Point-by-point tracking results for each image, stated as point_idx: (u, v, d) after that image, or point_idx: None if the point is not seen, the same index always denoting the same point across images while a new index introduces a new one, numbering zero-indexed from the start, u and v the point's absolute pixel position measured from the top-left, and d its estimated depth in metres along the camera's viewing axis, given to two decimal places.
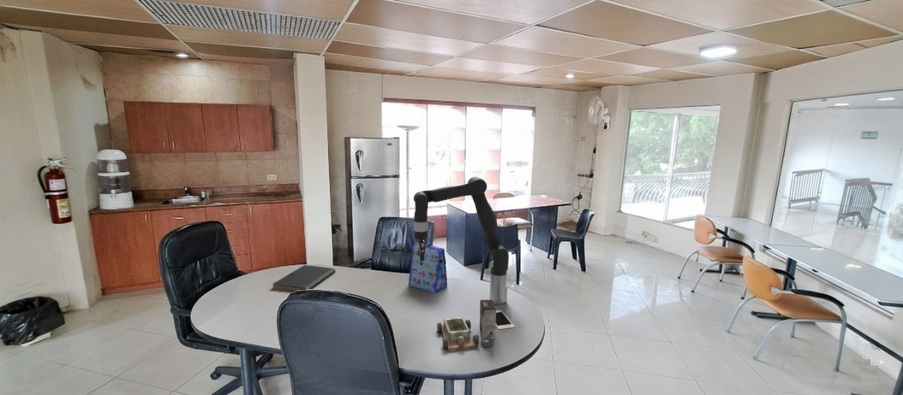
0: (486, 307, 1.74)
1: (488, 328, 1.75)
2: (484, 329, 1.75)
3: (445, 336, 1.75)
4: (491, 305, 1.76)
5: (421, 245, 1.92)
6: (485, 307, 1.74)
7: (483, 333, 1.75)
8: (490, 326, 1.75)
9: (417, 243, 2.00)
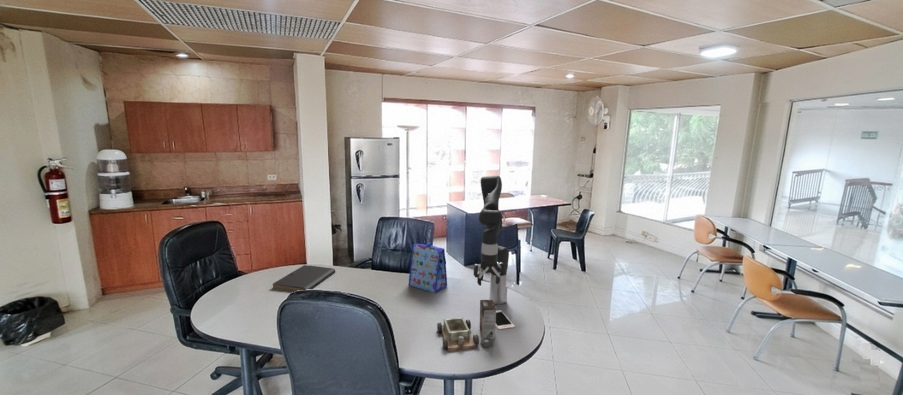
0: (486, 307, 1.74)
1: (488, 328, 1.75)
2: (484, 329, 1.75)
3: (445, 336, 1.75)
4: (491, 305, 1.76)
5: None
6: (485, 307, 1.74)
7: (483, 333, 1.75)
8: (490, 326, 1.75)
9: (487, 269, 1.72)
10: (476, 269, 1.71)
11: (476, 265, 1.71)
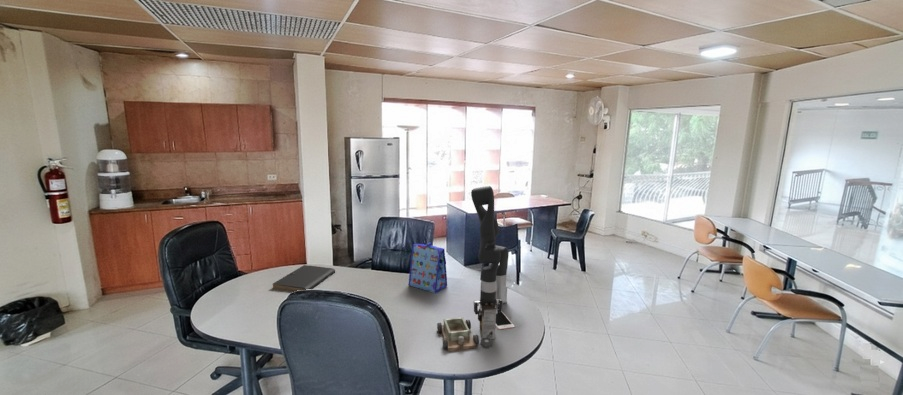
0: (486, 307, 1.74)
1: (488, 328, 1.75)
2: (484, 329, 1.75)
3: (445, 336, 1.75)
4: None
5: None
6: (485, 307, 1.74)
7: (483, 333, 1.75)
8: (490, 326, 1.75)
9: None
10: (476, 306, 1.75)
11: (475, 303, 1.74)
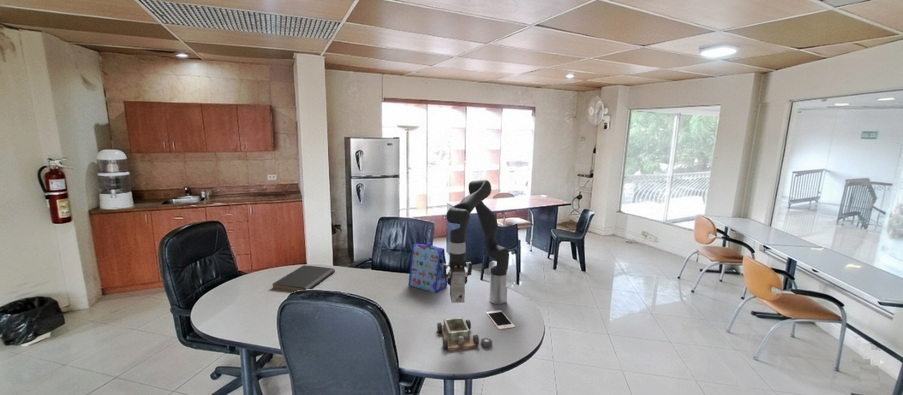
0: (455, 269, 1.69)
1: (458, 291, 1.70)
2: (453, 292, 1.70)
3: (445, 336, 1.75)
4: (461, 268, 1.71)
5: None
6: (454, 269, 1.69)
7: (452, 296, 1.70)
8: (459, 288, 1.70)
9: None
10: (444, 269, 1.70)
11: (444, 265, 1.70)
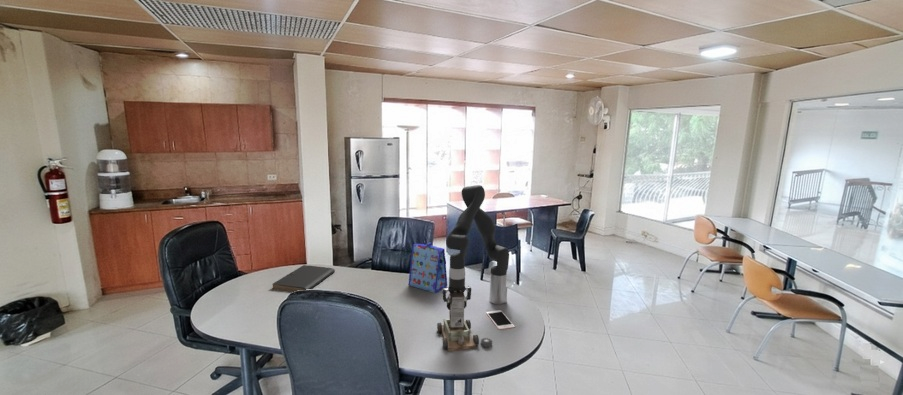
0: (454, 294, 1.71)
1: (457, 316, 1.72)
2: (452, 317, 1.72)
3: (445, 336, 1.75)
4: (460, 293, 1.73)
5: None
6: (454, 294, 1.71)
7: (452, 321, 1.73)
8: (458, 313, 1.72)
9: None
10: (444, 294, 1.72)
11: (443, 290, 1.72)
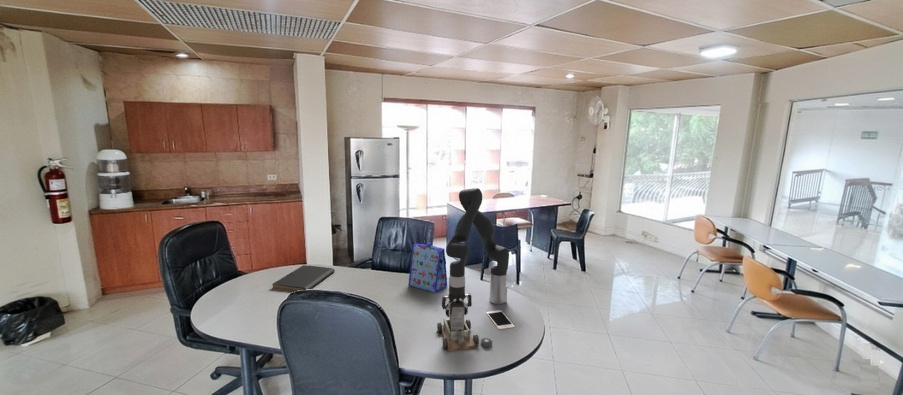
0: (454, 304, 1.72)
1: (457, 326, 1.73)
2: (453, 327, 1.73)
3: (445, 336, 1.75)
4: (460, 303, 1.74)
5: None
6: (454, 305, 1.72)
7: (452, 331, 1.74)
8: (459, 323, 1.73)
9: (455, 301, 1.74)
10: (444, 301, 1.73)
11: (443, 297, 1.73)
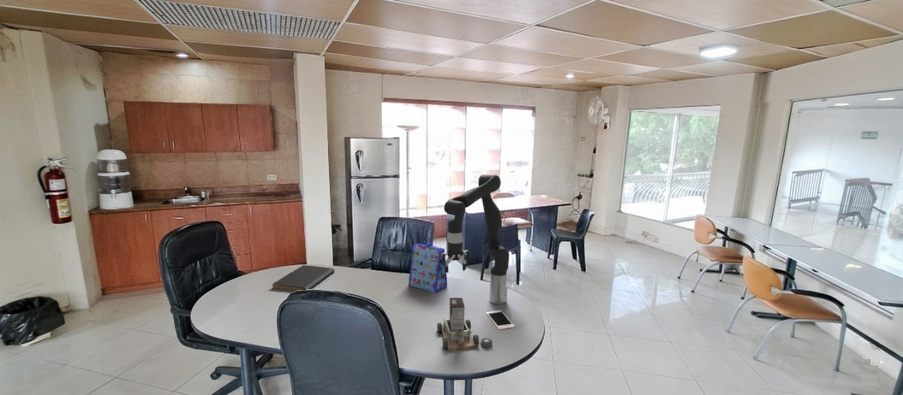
0: (454, 305, 1.72)
1: (457, 326, 1.73)
2: (453, 327, 1.73)
3: (445, 336, 1.75)
4: (460, 303, 1.74)
5: None
6: (454, 305, 1.72)
7: (452, 331, 1.74)
8: (459, 324, 1.73)
9: (453, 257, 1.81)
10: (443, 257, 1.81)
11: (443, 253, 1.80)
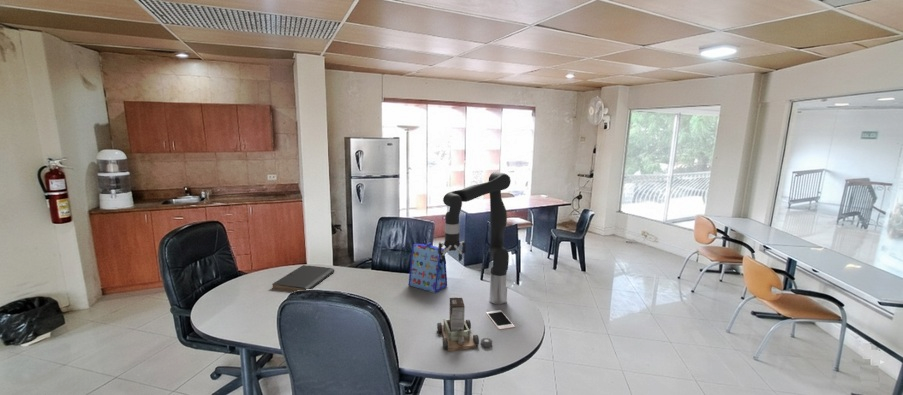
0: (454, 305, 1.72)
1: (457, 326, 1.73)
2: (453, 327, 1.73)
3: (445, 336, 1.75)
4: (460, 303, 1.74)
5: None
6: (454, 305, 1.72)
7: (452, 331, 1.74)
8: (459, 324, 1.73)
9: (450, 247, 1.91)
10: (440, 247, 1.90)
11: (440, 243, 1.90)
